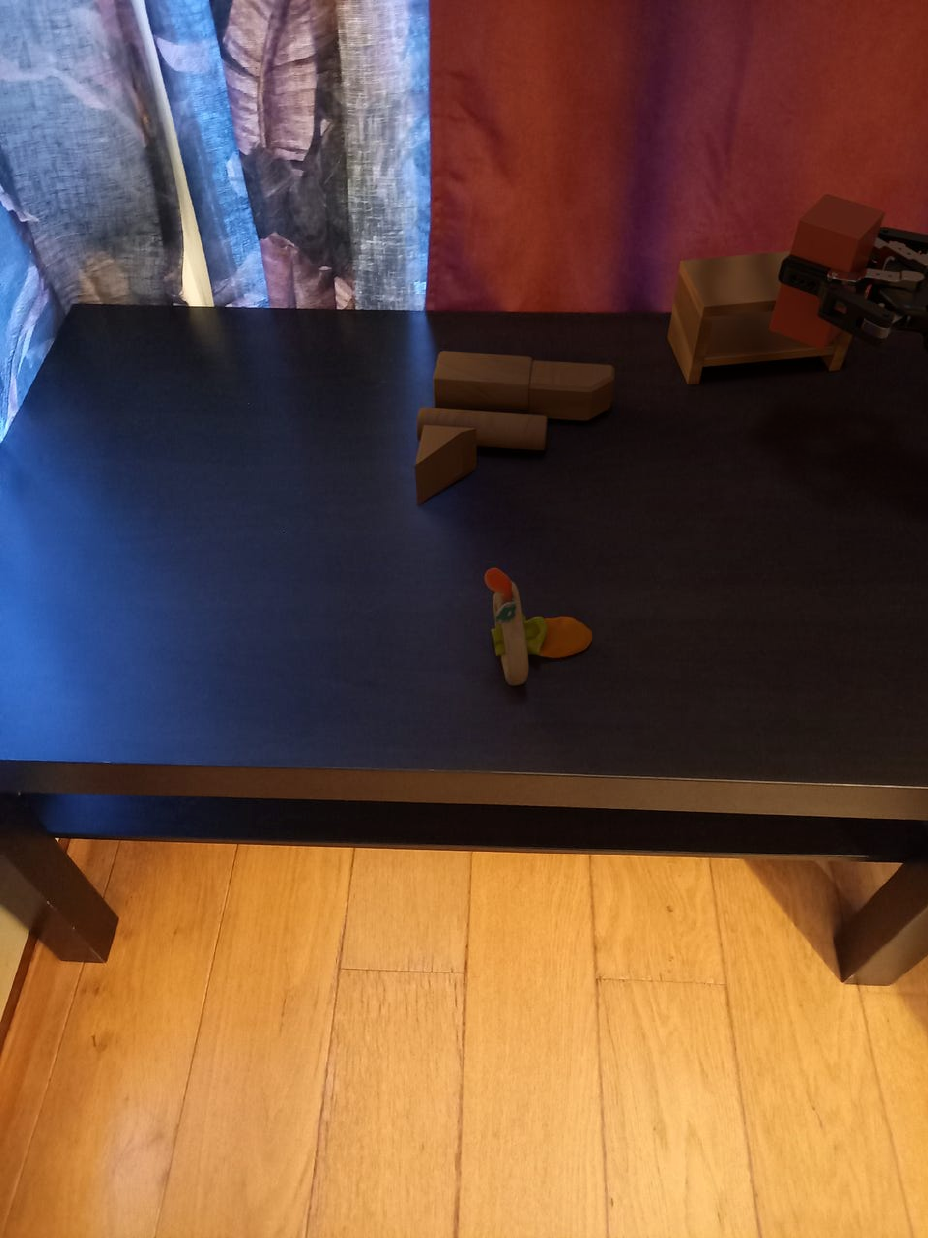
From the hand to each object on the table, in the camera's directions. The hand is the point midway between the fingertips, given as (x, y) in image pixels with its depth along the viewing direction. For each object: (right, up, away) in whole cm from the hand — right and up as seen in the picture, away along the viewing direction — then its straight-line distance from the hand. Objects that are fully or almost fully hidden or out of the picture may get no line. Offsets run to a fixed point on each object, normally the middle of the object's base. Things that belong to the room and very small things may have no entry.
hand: (798, 252), depth 77 cm
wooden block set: (-23, -14, +12) cm, 30 cm away
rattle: (-22, -34, -3) cm, 40 cm away
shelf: (+3, -3, +21) cm, 21 cm away
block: (+2, -5, +4) cm, 7 cm away
